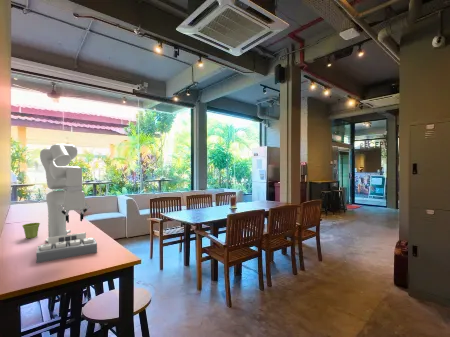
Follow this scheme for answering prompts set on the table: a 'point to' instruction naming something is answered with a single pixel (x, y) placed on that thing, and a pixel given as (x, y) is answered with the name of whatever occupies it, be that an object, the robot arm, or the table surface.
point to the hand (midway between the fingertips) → (74, 221)
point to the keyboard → (66, 248)
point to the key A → (46, 246)
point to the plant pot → (31, 230)
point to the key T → (87, 240)
